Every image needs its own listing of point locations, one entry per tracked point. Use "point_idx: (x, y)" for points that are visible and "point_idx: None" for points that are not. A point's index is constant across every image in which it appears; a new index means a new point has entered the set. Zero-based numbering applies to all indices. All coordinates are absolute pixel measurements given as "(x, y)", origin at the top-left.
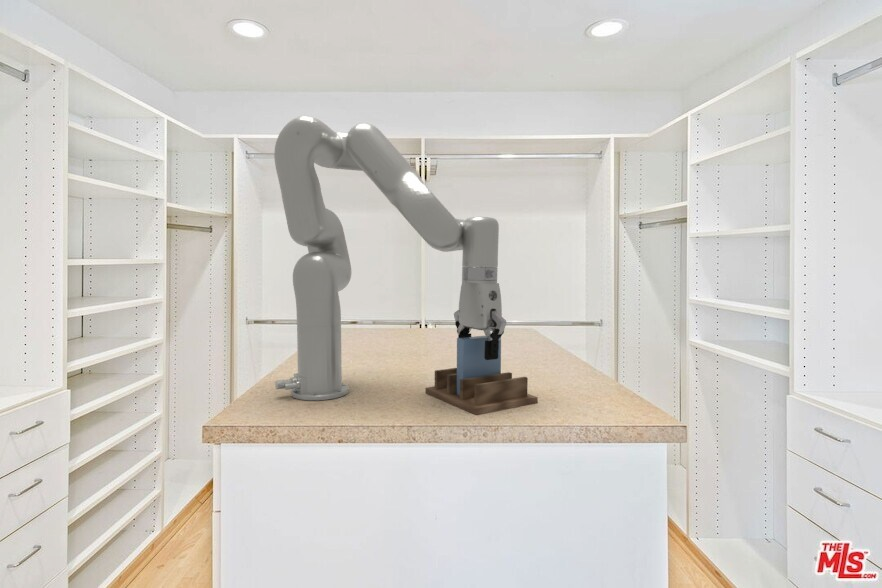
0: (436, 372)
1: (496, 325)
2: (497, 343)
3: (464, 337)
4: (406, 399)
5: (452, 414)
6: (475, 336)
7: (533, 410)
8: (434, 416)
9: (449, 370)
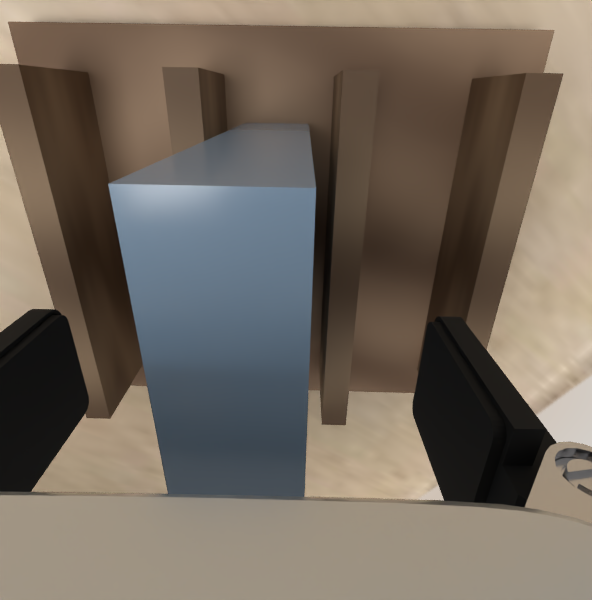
0: (108, 414)
1: (480, 551)
2: (552, 443)
3: (4, 471)
4: (156, 442)
5: (386, 417)
6: (168, 487)
7: (579, 149)
8: (367, 460)
9: (95, 351)
